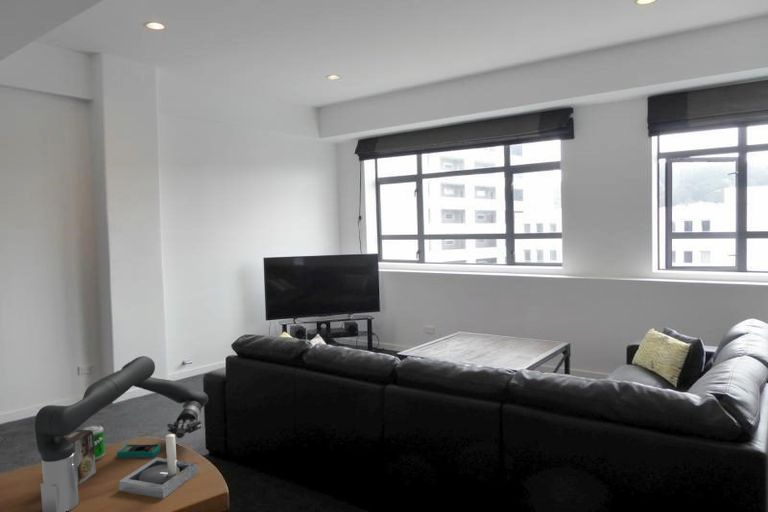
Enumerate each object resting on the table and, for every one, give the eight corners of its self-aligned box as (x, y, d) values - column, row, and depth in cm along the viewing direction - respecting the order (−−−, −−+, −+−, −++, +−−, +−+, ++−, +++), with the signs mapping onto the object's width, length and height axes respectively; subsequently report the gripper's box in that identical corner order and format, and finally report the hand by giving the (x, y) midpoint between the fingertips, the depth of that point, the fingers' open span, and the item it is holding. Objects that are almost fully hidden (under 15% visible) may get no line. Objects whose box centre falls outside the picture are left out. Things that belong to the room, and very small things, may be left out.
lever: (131, 487, 183) (128, 441, 182) (154, 468, 196) (152, 425, 194) (165, 490, 180) (163, 444, 179) (187, 471, 193) (185, 428, 192)
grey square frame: (163, 498, 177) (162, 488, 177) (119, 490, 182) (118, 480, 182) (198, 472, 194) (197, 462, 194) (156, 466, 199) (156, 456, 199)
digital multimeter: (154, 458, 206) (154, 451, 206) (116, 459, 206) (115, 451, 206) (162, 450, 214) (162, 443, 213) (125, 450, 214) (125, 443, 214)
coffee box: (80, 471, 196) (77, 429, 195) (96, 472, 195) (93, 429, 194) (62, 484, 188) (58, 439, 186) (78, 485, 186) (75, 440, 185)
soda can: (85, 455, 210) (83, 425, 209) (106, 452, 212) (104, 422, 211) (80, 463, 202) (78, 433, 201) (103, 460, 205) (100, 430, 204)
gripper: (170, 409, 214) (160, 427, 197) (205, 407, 216) (197, 424, 199) (171, 427, 215) (161, 447, 198) (206, 425, 217) (198, 443, 200)
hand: (179, 435), depth 199 cm, fingers closed
